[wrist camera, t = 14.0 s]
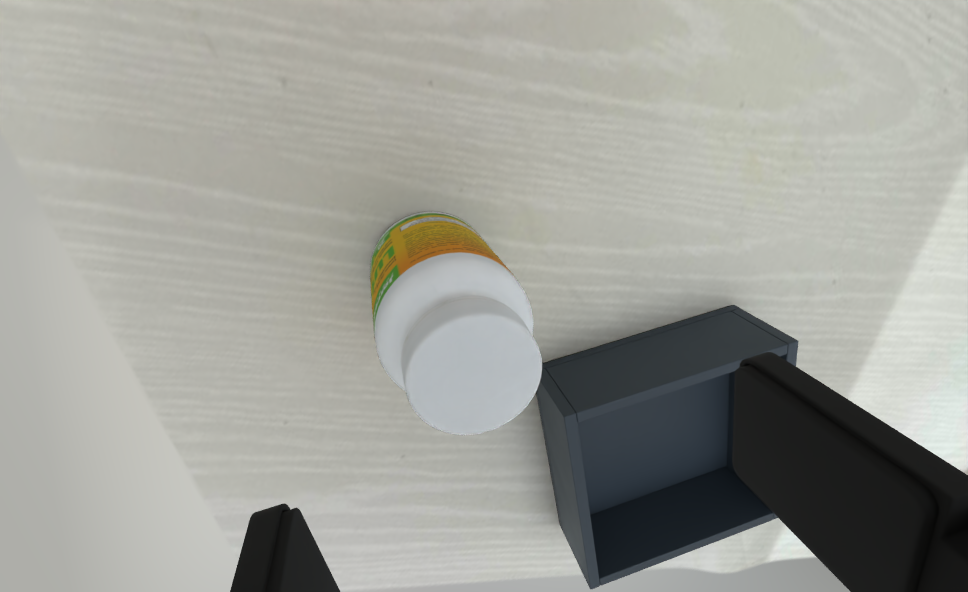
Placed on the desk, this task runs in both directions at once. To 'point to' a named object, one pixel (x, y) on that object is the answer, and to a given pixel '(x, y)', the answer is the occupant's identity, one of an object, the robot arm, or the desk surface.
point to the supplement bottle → (452, 325)
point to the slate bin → (652, 441)
